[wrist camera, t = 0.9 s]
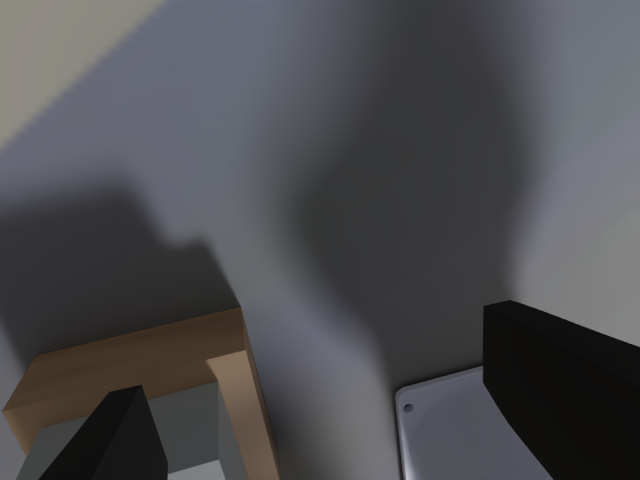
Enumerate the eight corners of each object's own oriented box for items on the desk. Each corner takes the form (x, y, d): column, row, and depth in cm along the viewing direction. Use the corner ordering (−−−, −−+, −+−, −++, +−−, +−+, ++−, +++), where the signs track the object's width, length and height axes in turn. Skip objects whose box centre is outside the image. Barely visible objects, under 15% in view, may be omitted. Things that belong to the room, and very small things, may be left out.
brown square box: (275, 443, 22) (286, 507, 19) (105, 491, 21) (86, 567, 18) (240, 302, 19) (245, 350, 16) (38, 349, 18) (2, 411, 15)
